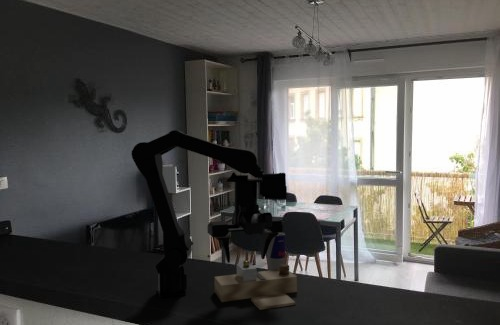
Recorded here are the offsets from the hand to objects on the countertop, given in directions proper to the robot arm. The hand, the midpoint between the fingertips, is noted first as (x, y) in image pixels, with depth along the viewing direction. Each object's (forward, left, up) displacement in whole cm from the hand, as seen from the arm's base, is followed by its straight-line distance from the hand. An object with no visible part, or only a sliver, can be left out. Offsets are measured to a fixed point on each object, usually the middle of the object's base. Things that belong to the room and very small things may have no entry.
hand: (245, 260), depth 104 cm
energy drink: (+13, +11, -9) cm, 19 cm away
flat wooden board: (+4, -8, -8) cm, 12 cm away
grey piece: (0, 0, -4) cm, 4 cm away
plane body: (+3, 0, -8) cm, 9 cm away
